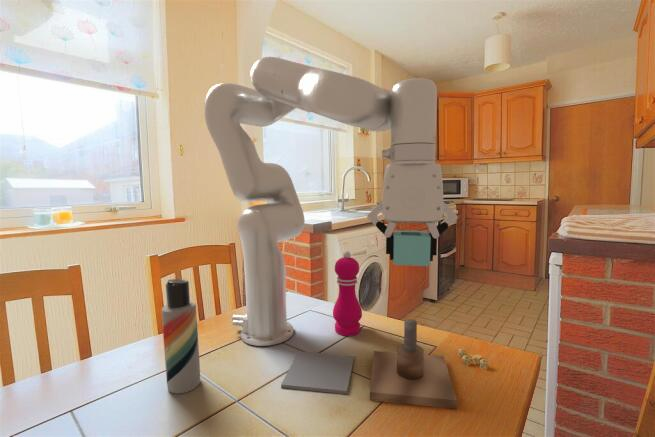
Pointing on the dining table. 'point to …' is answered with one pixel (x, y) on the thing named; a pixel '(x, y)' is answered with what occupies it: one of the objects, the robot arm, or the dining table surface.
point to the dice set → (475, 359)
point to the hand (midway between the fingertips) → (410, 257)
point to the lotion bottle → (180, 338)
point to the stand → (411, 375)
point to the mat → (319, 372)
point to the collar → (412, 248)
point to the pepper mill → (347, 297)
